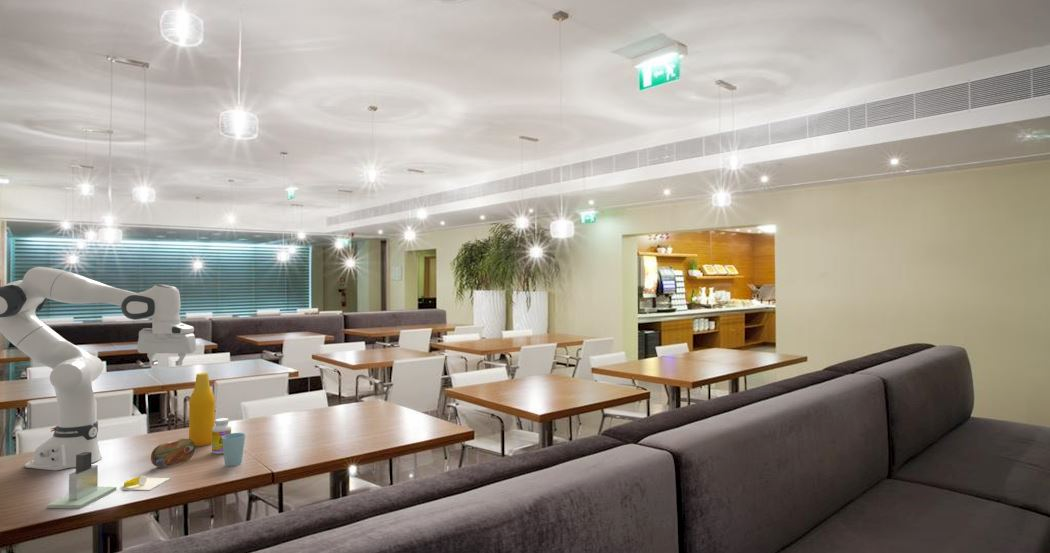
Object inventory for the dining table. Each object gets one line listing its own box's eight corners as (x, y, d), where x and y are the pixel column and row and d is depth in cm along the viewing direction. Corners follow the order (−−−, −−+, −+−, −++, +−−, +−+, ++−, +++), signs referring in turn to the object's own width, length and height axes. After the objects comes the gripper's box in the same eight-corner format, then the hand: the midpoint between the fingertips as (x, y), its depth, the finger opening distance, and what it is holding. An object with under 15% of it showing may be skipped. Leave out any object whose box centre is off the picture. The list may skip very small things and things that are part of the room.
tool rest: (47, 507, 163) (47, 504, 163) (85, 489, 177) (85, 486, 177) (80, 508, 163) (80, 505, 163) (116, 490, 177) (116, 486, 177)
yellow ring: (121, 489, 179) (134, 488, 178) (119, 481, 179) (132, 480, 178) (138, 482, 185) (151, 481, 183) (137, 474, 185) (150, 473, 183)
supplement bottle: (217, 455, 212) (217, 422, 211) (208, 452, 215) (208, 419, 215) (234, 451, 217) (234, 418, 217) (225, 448, 221) (225, 416, 221)
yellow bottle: (208, 438, 233) (208, 370, 233) (218, 442, 227) (219, 373, 227) (184, 443, 225) (185, 373, 225) (194, 448, 220) (195, 376, 220)
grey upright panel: (68, 500, 166) (69, 457, 166) (90, 490, 174) (90, 449, 174) (76, 500, 166) (76, 458, 166) (97, 490, 174) (97, 449, 174)
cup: (216, 466, 200) (217, 438, 200) (230, 459, 207) (231, 432, 207) (235, 467, 199) (236, 439, 199) (249, 460, 206) (249, 433, 206)
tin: (154, 470, 195) (154, 447, 195) (149, 469, 196) (149, 446, 196) (195, 458, 208) (195, 436, 208) (190, 457, 210) (190, 435, 210)
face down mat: (122, 490, 177) (122, 489, 177) (144, 478, 187) (144, 477, 187) (149, 490, 177) (149, 489, 177) (170, 479, 187) (170, 478, 187)
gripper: (132, 328, 200) (132, 366, 200) (187, 329, 199) (187, 367, 199) (145, 327, 206) (145, 363, 206) (198, 327, 206) (198, 364, 206)
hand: (166, 365), depth 203 cm, fingers open, 8 cm apart
